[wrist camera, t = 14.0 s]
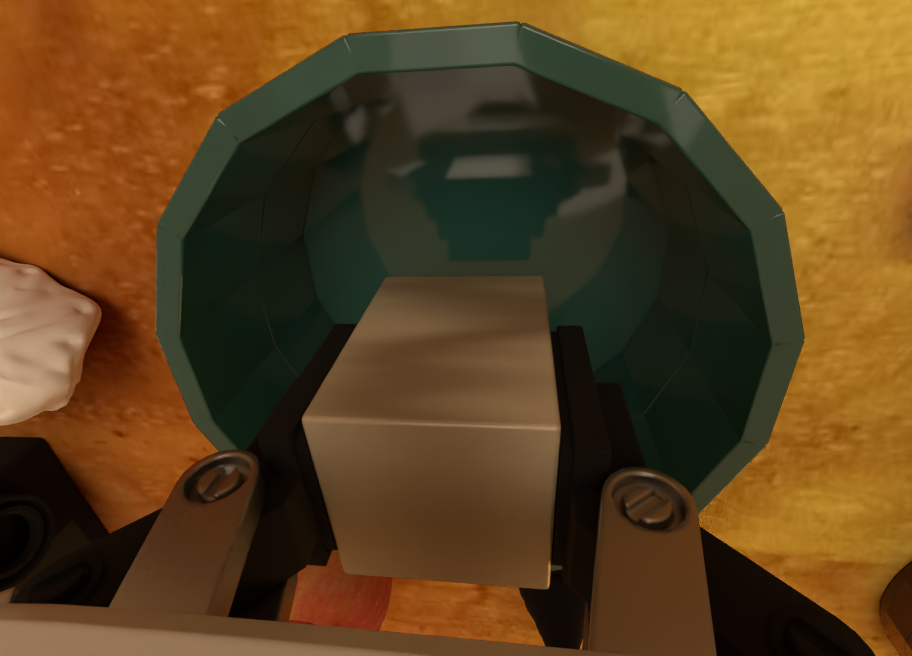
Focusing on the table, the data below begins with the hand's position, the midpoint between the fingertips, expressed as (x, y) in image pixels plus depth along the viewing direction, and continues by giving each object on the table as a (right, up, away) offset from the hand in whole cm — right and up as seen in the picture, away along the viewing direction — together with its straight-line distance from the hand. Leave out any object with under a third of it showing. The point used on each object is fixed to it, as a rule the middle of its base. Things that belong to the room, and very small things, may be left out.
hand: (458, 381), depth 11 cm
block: (0, +1, +2) cm, 2 cm away
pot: (+1, +4, +7) cm, 8 cm away
